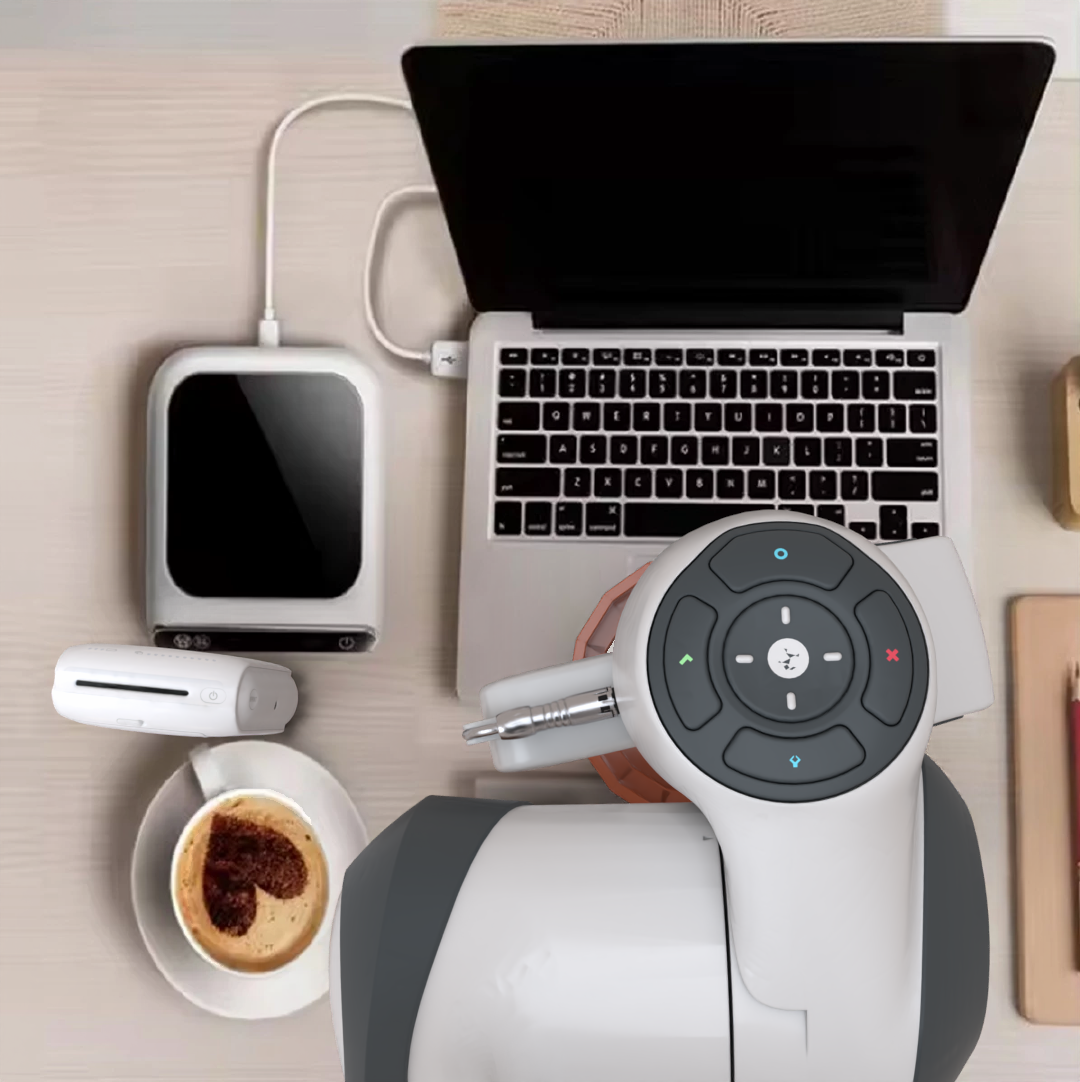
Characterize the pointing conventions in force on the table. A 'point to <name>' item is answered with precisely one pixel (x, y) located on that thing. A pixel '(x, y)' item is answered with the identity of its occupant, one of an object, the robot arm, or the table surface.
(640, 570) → the bowl
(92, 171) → the table surface
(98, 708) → the photo printer
